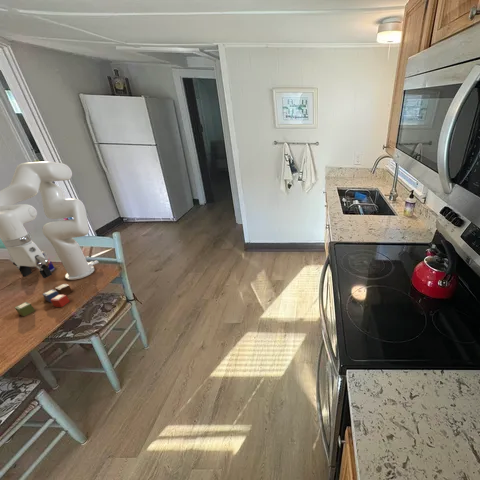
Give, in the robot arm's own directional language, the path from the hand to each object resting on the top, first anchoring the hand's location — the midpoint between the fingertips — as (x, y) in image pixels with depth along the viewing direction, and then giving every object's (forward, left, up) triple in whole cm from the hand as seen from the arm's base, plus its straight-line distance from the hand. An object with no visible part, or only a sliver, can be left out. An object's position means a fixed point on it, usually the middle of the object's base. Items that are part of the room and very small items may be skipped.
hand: (38, 275), depth 115 cm
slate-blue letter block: (-3, -10, -18) cm, 21 cm away
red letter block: (-3, -2, -18) cm, 19 cm away
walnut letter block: (-8, -10, -18) cm, 22 cm away
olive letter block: (+7, -10, -18) cm, 22 cm away
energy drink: (-17, -42, -19) cm, 48 cm away
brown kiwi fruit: (-14, -54, -19) cm, 58 cm away
